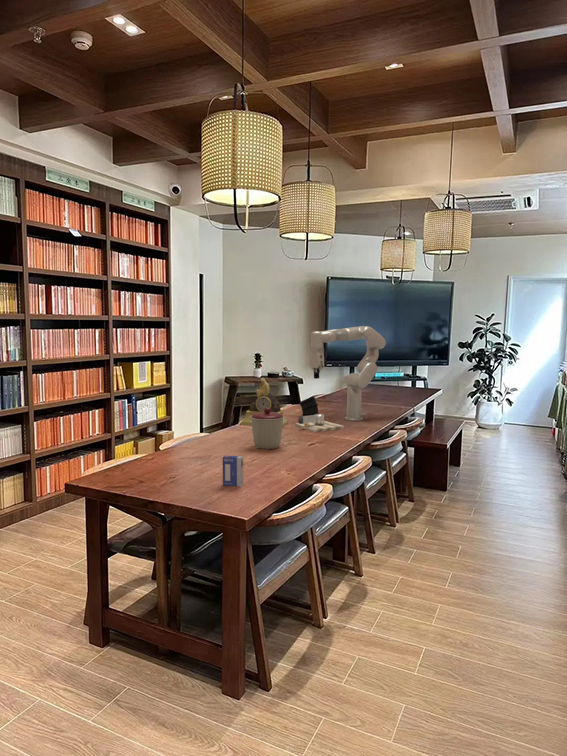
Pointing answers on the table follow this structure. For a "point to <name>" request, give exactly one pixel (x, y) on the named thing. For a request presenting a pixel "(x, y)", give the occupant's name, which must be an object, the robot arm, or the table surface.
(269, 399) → the decorative clock
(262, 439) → the canister
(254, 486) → the table surface
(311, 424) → the dial base
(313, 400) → the black box
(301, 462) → the table surface
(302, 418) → the capstan lever
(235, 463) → the walkman
